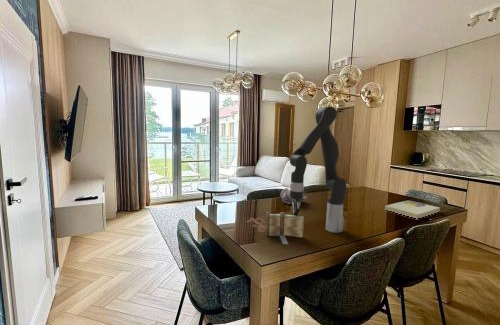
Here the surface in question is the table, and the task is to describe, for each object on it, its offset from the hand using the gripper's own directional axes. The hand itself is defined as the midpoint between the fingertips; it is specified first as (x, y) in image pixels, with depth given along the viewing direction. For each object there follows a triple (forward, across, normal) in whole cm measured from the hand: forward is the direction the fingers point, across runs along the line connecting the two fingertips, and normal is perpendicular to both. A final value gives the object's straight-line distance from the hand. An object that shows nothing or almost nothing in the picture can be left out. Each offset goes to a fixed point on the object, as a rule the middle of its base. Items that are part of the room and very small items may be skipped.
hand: (295, 218), depth 142 cm
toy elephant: (+10, +68, -12) cm, 69 cm away
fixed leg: (+9, -2, +12) cm, 15 cm away
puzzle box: (+11, +49, -103) cm, 114 cm away
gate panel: (+9, -3, +1) cm, 9 cm away
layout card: (+10, -6, +8) cm, 14 cm away
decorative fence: (+11, +14, +18) cm, 25 cm away
